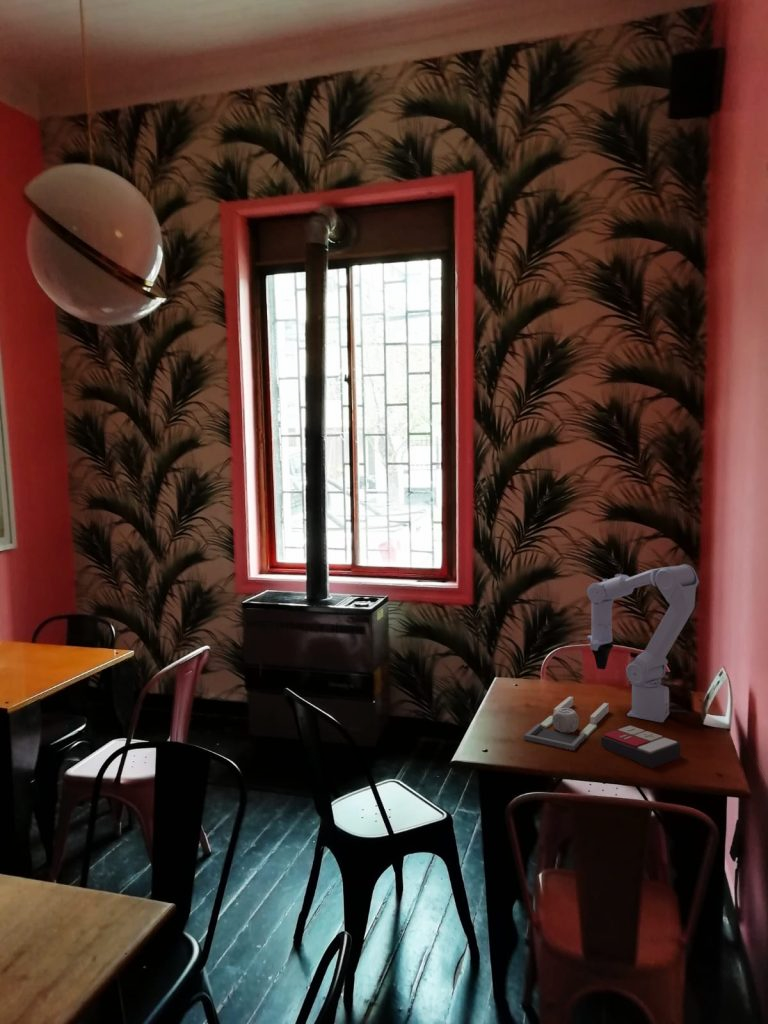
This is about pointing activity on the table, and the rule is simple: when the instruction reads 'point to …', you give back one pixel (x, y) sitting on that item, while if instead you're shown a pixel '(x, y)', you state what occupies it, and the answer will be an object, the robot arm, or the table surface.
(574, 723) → the die
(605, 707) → the white guide rails
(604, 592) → the robot arm
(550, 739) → the tray
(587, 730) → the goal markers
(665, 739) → the calculator
